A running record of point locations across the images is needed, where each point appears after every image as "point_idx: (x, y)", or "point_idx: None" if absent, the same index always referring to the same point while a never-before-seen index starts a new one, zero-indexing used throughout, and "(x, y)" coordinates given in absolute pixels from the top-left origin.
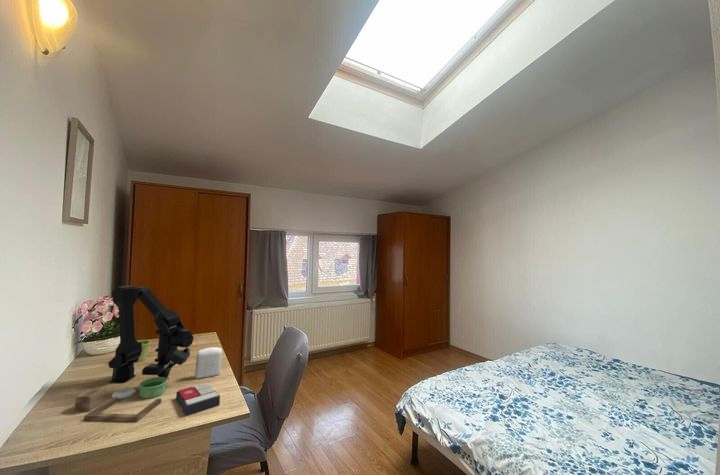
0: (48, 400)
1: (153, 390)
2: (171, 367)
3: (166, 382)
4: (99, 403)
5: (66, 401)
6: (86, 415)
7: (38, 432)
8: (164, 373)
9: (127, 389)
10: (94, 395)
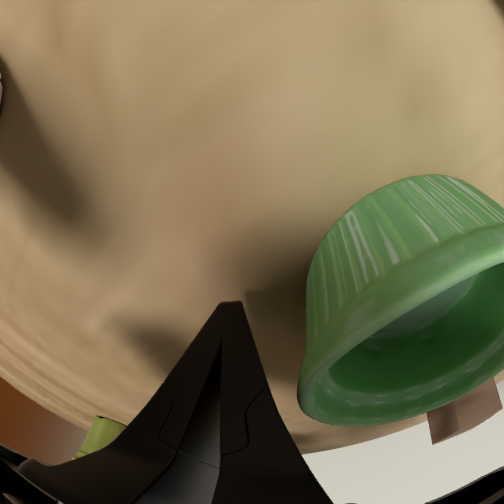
0: (375, 437)
1: None
2: (140, 489)
3: (488, 238)
4: None
5: (391, 425)
6: None
7: None
8: (294, 443)
9: None
10: (490, 411)
